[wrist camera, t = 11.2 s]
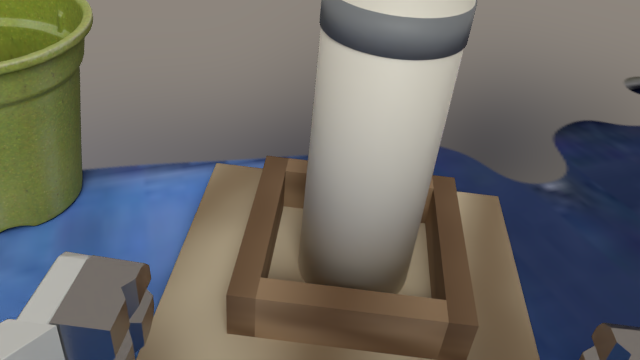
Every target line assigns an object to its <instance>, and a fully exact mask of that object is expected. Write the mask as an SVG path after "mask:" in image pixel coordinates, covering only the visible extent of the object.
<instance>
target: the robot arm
mask: <svg viewBox="0 0 640 360" xmlns="http://www.w3.org/2000/svg"><path fill="white" fill-rule="evenodd" d="M150 280H151V274H150V268H149V265H147V264H145V263H139V262H132V261H126V260H119V259H113V258H107V257H100V256H94V255H93V256H91V255H84V254H78V253H71V252H64V253H63V254H61V255H60V256H59V257H58V258H57V259H56V260H55V262H54V263H53V265H52V266H51V268H50V270H49V271H48V273H47V274H46V276H45V277H44V279H43V280H42V282H41V283H40V285H39V286H38V288H37V289H36V291H35V292H34V294H33V295H32V297H31V298H30V300H29V301H28V303H27V304H26V306H25V307H24V309H23V310H22V312H21V313H20V315H19V316H18V318H17V319H16V320H14V319H7V320H5V321H3V322H1V323H0V360H135V356H134V353H136V352H137V351H138V350H140V349H141V348H142V347H144V346H145V344H146V341H147V338H148V336H149V333H150V329H151V325H152V321H153V314H154V300H153V295H152V294H151V293H150V292H149V291H148V290H147V287H148V285H149V282H150ZM592 339H593V342H594V345H595V346H594V347H592V348H590V349H588V350H586V351H584V352H583V353H582V355H581V357H580V359H579V360H640V327H634V326H626V325H618V324H609V323H602V324H601V325H599V326H598V327H597V328H596V329H595V331H594V333H593V335H592Z"/></svg>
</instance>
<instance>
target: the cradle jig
mask: <svg viewBox="0 0 640 360" xmlns="http://www.w3.org/2000/svg"><path fill="white" fill-rule="evenodd" d="M307 165H308V161H307V160H299V159H291V158H282V157H274V156H267V157H266V160H265V164H264V167H263V169H262V168H253V167H245V166H237V165H228V164H220V163H216V166H215V168H214V170H213V173H212V175H211V178H210V180H209V183H208V185H207V188H206V190H205V192H204V195H203V197H202V200H201V202H200V205H199V207H198V210H197V212H196V214H195V217H194V219H193V222H192V224H191V227H190V229H189V232H188V234H187V237H186V239H185V241H184V244H183V246H182V249H181V251H180V254H179V256H178V259H177V261H176V263H175V266H174V268H173V271H172V273H171V276H170V278H169V281H168V283H167V285H166V288H165V290H164V293H163V295H162V298H161V300H160V303H159V305H158V307H157V310H156V312H155V315H154V317H153V321H152V325H151V329H150V333H149V336H148V338H147V341H146V344H145V346H144V347H142V348H141V349H140V351H139V354H138V356H137V359H136V360H540V359H539V355H538V351H537V347H536V343H535V339H534V335H533V331H532V327H531V323H530V320H529V316H528V312H527V308H526V304H525V300H524V296H523V292H522V288H521V284H520V280H519V277H518V273H517V269H516V265H515V261H514V257H513V253H512V249H511V245H510V241H509V238H508V234H507V230H506V226H505V222H504V218H503V214H502V210H501V206H500V202H499V198H498V196H489V195H481V194H473V193H464V192H457V191H456V185H455V179H454V178H451V177H443V176H434V175H432V178H431V182H430V186H429V190H428V194H427V198H426V202H425V206H424V210H423V214H422V218H421V222H420V226H419V230H418V234H417V238H416V242H415V246H414V250H413V254H412V258H411V262H410V266H409V270H408V274H407V278H406V282H405V284H404V286H403V288H402V289H401V291H400V292H399V293H398V294H392V293H384V292H376V291H368V290H360V289H352V288H344V287H335V286H327V285H319V284H311V283H306V282H305V281H304V279H303V278H302V276H301V274H300V270H299V265H298V259H299V248H300V238H301V228H302V217H303V207H304V196H305V186H306V175H307Z"/></svg>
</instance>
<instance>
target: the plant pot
mask: <svg viewBox="0 0 640 360" xmlns="http://www.w3.org/2000/svg"><path fill="white" fill-rule="evenodd" d="M92 23H93V14H92V9H91V7H90V5H89V4H88V2H87V1H86V0H0V232H2V231H4V230H6V229H8V228H12V227H17V226H26V225H30V226H36V225H39V224H42V223H44V222H46V221H48V220H50V219H52V218H54V217H56V216H57V215H59V214H60V213H62V212H63V211H64V210H65V209H67V208H68V207H69V206H70V205H71V204H72V203H73V202H74V200H75V199H76V198H77V196H78V195H79V193H80V191H81V188H82V156H81V117H80V69H79V66H80V64H81V62H82V59H83V55H84V37H85V36H86V35H87V34H88V33H89V31H90V29H91V26H92Z"/></svg>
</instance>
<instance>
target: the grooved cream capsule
mask: <svg viewBox="0 0 640 360" xmlns="http://www.w3.org/2000/svg"><path fill="white" fill-rule="evenodd" d="M476 6H477V0H322V2H321V13H320V26H321V29H320V40H319V51H318V61H317V71H316V81H315V82H316V83H315V93H314V102H313V114H312V124H311V134H310V144H309V154H308V165H307V175H306V186H305V196H304V207H303V217H302V228H301V238H300V248H299V259H298V265H299V270H300V274H301V276H302V278H303V279H304V281H305V282H306V283H311V284H319V285H327V286H335V287H344V288H352V289H360V290H368V291H376V292H384V293H392V294H398V293H399V292H400V291H401V289H402V288H403V286H404V284H405V282H406V278H407V274H408V270H409V266H410V262H411V258H412V254H413V250H414V246H415V242H416V238H417V234H418V230H419V226H420V222H421V218H422V214H423V210H424V206H425V202H426V198H427V194H428V190H429V186H430V182H431V178H432V174H433V170H434V166H435V162H436V159H437V155H438V151H439V147H440V142H441V139H442V135H443V130H444V126H445V123H446V118H447V114H448V110H449V106H450V103H451V99H452V95H453V91H454V86H455V82H456V78H457V74H458V71H459V67H460V63H461V59H462V55H463V50H464V48H465V46H466V45H467V41H468V38H469V34H470V30H471V26H472V21H473V18H474V14H475V10H476Z"/></svg>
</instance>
